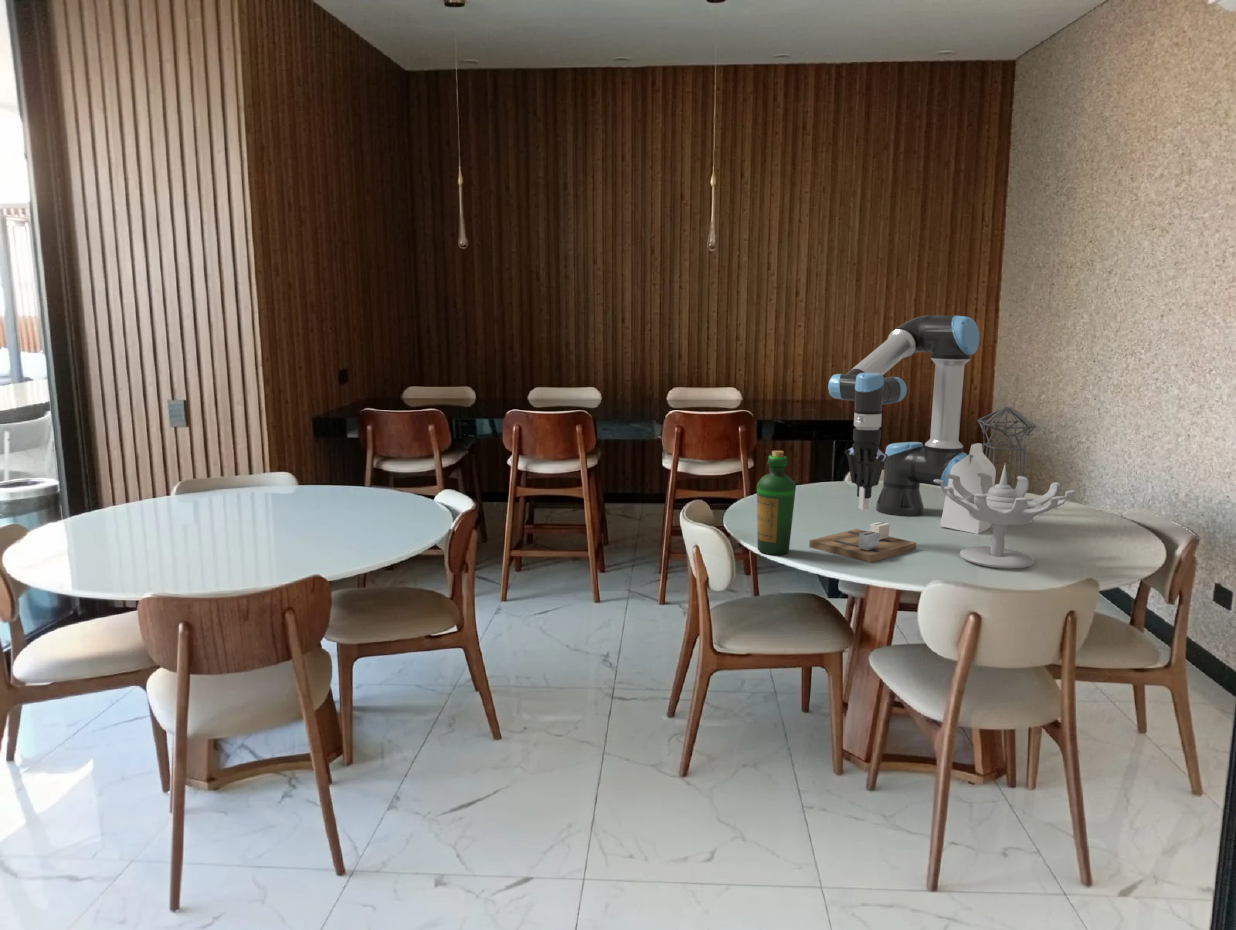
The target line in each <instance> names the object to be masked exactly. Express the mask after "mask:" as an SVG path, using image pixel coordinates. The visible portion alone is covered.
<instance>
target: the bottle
mask: <svg viewBox="0 0 1236 930" xmlns="http://www.w3.org/2000/svg"><path fill="white" fill-rule="evenodd" d="M784 454H785V452H784V451H783V450H772V451H771V454H769V455H768V459H767V463H766V464H767V465H768V468H769V469H768V470H769V473H766V474H764V475H763V476H762V477H760V479H759V480H758V482H757V484H756V517H757V518H756V522H757V524H756V527H757V533H756V534H757V536H756V537H757V550H758V551H759V552H761V553H762V554H765V555H770V556H771V555H772V556H780V555H785V554H787V553H789V551H790V545H791V544H790V543H791V535H792V524H793V517H794V508H795V498H796V490H797V485H796V483H795V481H794V480H793V478H792V477H790V476H789V475H787V474H785V472H786V471H785V470H786V466H788V461H787V460H788V459H787V458H788V457H787V456H786V455H784Z"/></svg>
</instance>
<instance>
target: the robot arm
mask: <svg viewBox="0 0 1236 930" xmlns="http://www.w3.org/2000/svg"><path fill="white" fill-rule="evenodd" d="M979 331H980V330H979V327H978V325H977V323H976V321H975V320H974V319H973V318H971V317H969V316H964V315H931V314H930V315H927V314H925V315H921V316H917V317H913V318H912V319H909V320H907V321H905V322H904V323H902V324H900V325H898V326H897V327H896V328H894V329H893V330H892V331H891V332H890V333H889V335H888V336H887V339H886V340H885V341H884V342H882V343H881V344H880V345H879V346H878V347H877V348H876V349H874V350H873V351H872V352H871V353H869V354H868V355H867V356H866V357H864V358H863V359H862V360H861V361H860V362H859V363H857V364H856V365H854V367H852V369H850V370H849V371H848V372H847V373H844V374H843V373H835V374H833V375H831V377H830V379H829V380H828V386H827V388H828V393H829V396H830V397H831V398H833V399H835V400H836V399H837V400H842V401H854V412H853V414H854V418H853V426H854V427H855V428H854V429H853V434H852V441H853V444H852V445H851V446H852V447H850V448H848V449H845V450H844V453H845V455H846V457H847V462H848V463H847V464H848V469H849V473H850V474H849V476H850V481H851V483H852V484H855V485H856V486H857V489H856V496H857V498H858V510H861V511H863V510H867V509H869V506H870V505H869V502H870V499H871V497H872V489H873V487H876V486H878V485H879V483H880V479H881V475H882V470H883V480H882V481H883V482H882V483H883V485H882V488H881V491H880V493H879V496H878V499H877V501H876V508H875V509H876V511H878V512H880V513H883V514H888V515H894V516H895V515H896V516H907V517H908V516H920V515H922V514H924V503H923V498H922V495H921V491H920V485H921V484H922V485H928V486H936V487H940V488H941V484H938V483H935V482H934V481H933V480H935V479H939V480H943V485H944V486H945V487H948V481H949V478H948V477H946V475H948V474H950V471H951V468H952V467H953V466H954V465H955V464H956V463H958V462H959V461H960V460H962V459H963V458H965V457H966V456H968V455H969V454H968V453H966V452H964V445H963V444H962V443H961V442H960V441H959V438H960V428H961V427H960V426H961V425H960V424H961V416H962V415H961V413H962V400H963V386H964V375H965V374H964V373H965V365H966V364H967V363H969V362H970V361H971V355H972V356H973V355H974V354H975V353H976V352H977V350H978V347H979V344H980V332H979ZM915 353H931V354H930V360H931V361H932V362H933V364H934V365H935V367H934V379H933V382H934V383H933V393H932V407H931V422H930V438H929V439H928V440H927V441H926V442H925V443H924V444H923V442H920V441H906V442H894V443H893V442H892V443H890V444H888V445H887V446H886V448H885V452H884V453H883V452H882V451H881V446H880V443H881V435H882V434H881V433H882V430H881V427H882V419H883V418H882V416H883V415H882V413H883V411H882V410H883V405H890V404H893V405H894V404H896V403H899V402H901V401H902V400H903V399H905V397H906V395H907V392H908V391H907V390H908V387H907V385H906V383H905V381H904V380H903V379H902V378H901V377H897V376H888V377H884V375H885V374H886V373H888V371H889V370H890V369H892V368H893V367H894V366H895V365H897V363H899V362H900V361H901V360H902V359H903V358H908V357H911V356H912V355H913V354H915Z"/></svg>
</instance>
